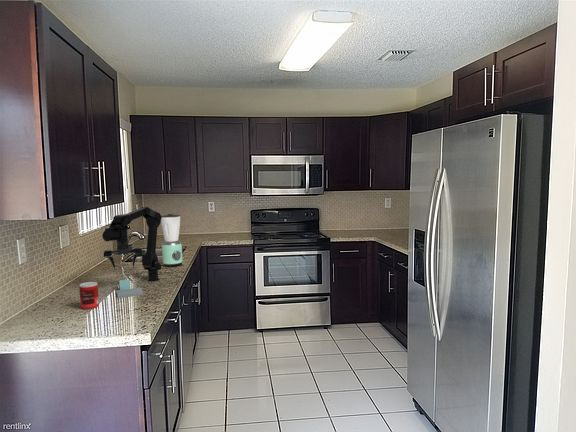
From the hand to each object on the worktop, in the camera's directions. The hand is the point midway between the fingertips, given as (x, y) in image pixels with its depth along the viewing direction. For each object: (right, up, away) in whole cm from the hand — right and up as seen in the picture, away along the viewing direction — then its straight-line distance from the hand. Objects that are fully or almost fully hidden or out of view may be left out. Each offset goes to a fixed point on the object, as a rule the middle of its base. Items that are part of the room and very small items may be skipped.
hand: (123, 267), depth 217 cm
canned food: (-4, -15, -28) cm, 32 cm away
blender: (+8, -6, +62) cm, 63 cm away
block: (0, -12, +1) cm, 12 cm away
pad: (+6, -12, -7) cm, 16 cm away
